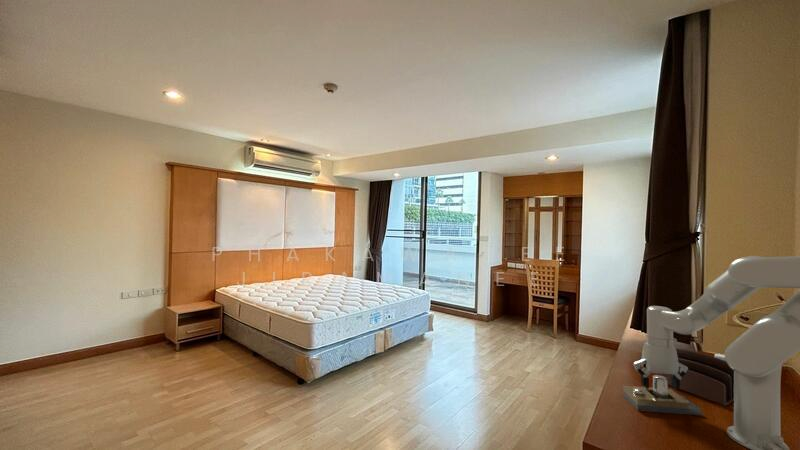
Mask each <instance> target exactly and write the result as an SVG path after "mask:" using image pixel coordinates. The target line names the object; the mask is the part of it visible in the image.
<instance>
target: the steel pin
mask: <svg viewBox="0 0 800 450" xmlns="http://www.w3.org/2000/svg"><path fill="white" fill-rule="evenodd" d="M652 388H653V396H654V397H655V398H660V399H668V389H669V385H668V378H666V377H664V376H663V375H660V374H654V375H652Z"/></svg>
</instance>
